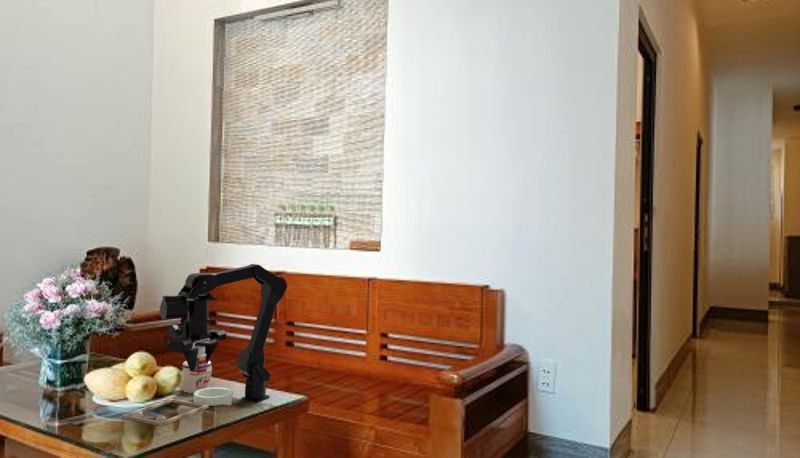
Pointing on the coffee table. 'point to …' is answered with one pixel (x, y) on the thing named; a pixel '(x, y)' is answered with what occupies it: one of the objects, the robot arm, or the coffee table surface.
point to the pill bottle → (199, 363)
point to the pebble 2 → (160, 418)
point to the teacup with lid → (195, 379)
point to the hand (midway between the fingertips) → (198, 368)
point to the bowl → (213, 396)
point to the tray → (201, 407)
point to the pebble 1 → (137, 414)
